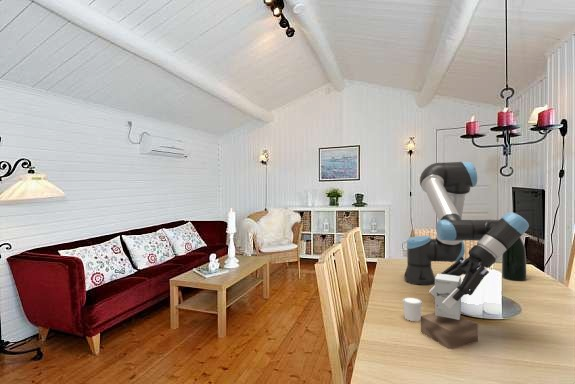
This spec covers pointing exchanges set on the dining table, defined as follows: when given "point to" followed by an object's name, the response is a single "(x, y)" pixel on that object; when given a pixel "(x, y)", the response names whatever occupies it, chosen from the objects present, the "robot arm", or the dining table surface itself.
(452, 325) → the walnut block
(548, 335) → the dining table surface
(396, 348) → the dining table surface
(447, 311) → the supplement box
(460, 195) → the robot arm
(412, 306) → the white cylinder
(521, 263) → the dark green bottle
